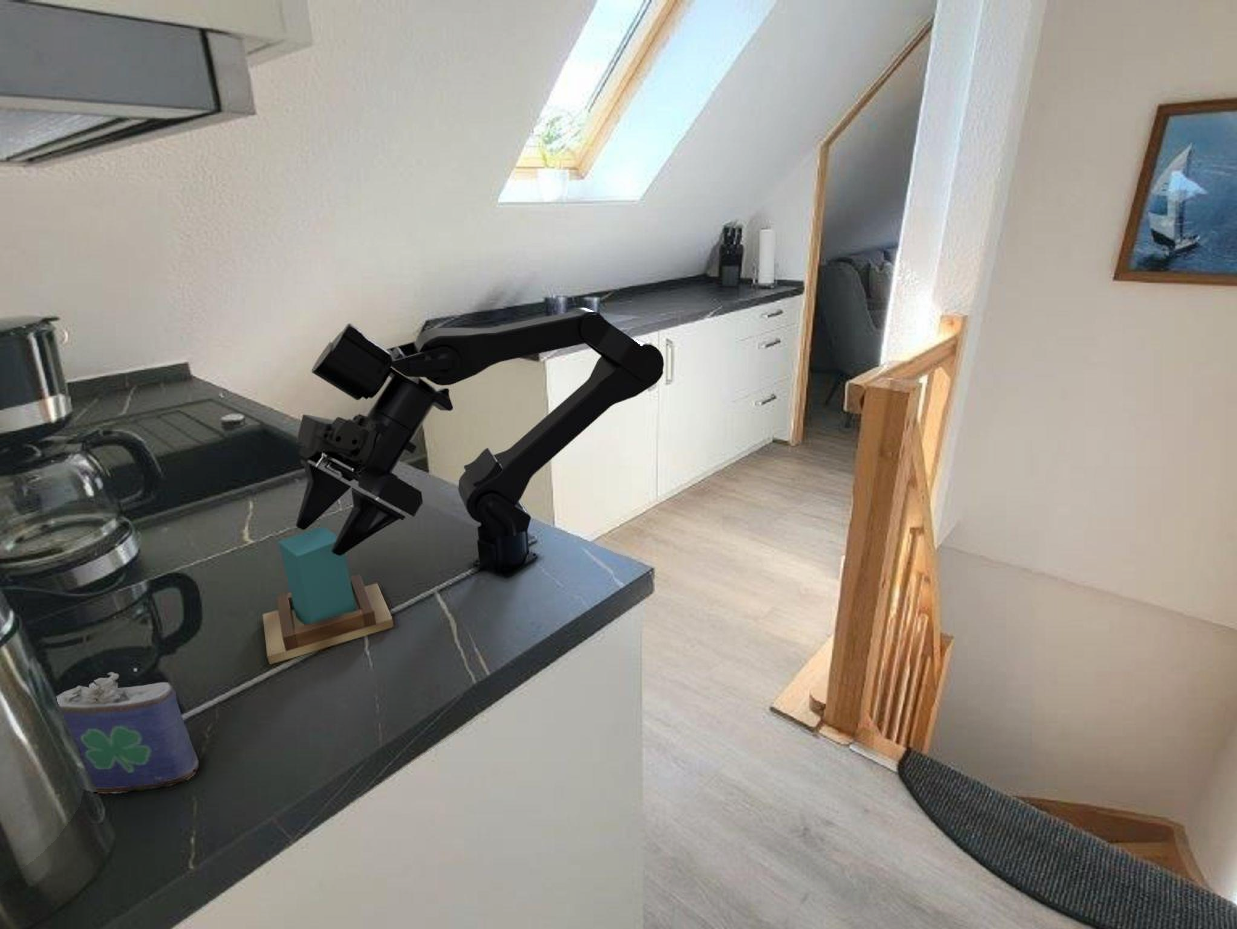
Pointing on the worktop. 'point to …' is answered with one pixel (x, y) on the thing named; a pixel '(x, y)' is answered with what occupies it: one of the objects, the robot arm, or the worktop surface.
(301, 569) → the teal rectangular block
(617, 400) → the robot arm
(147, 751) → the flask
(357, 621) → the socket pad
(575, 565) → the worktop surface
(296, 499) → the worktop surface
